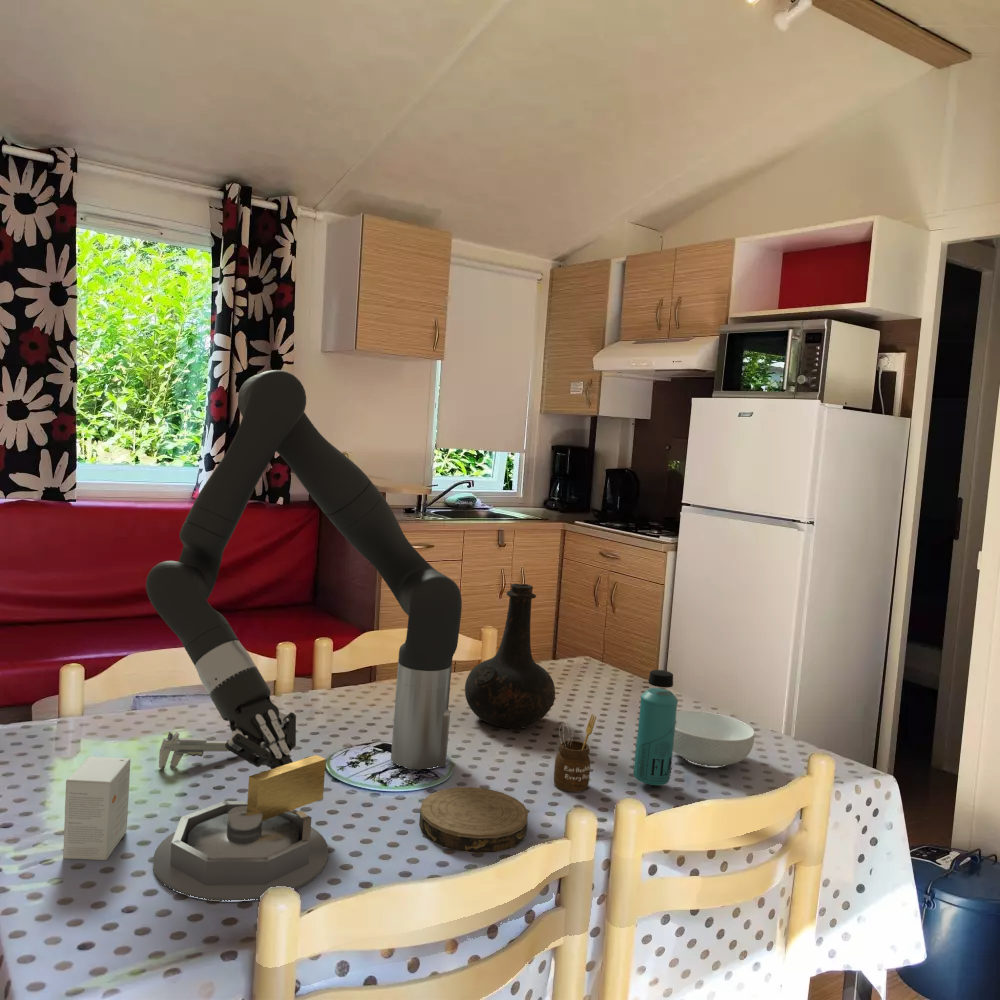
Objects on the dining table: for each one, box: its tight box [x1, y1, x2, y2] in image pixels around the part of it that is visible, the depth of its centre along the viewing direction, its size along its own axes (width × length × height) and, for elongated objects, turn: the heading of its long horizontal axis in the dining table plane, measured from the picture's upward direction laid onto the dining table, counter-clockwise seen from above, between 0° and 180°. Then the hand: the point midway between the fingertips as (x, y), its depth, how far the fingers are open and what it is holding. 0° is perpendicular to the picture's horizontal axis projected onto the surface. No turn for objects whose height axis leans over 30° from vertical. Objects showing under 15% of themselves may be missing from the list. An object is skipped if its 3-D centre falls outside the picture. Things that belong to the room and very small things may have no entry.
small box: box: [62, 756, 131, 861], centre depth 117 cm, size 8×6×10 cm
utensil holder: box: [553, 713, 597, 793], centre depth 149 cm, size 6×6×12 cm
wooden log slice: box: [418, 786, 529, 854], centre depth 131 cm, size 16×16×3 cm
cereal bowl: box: [672, 710, 756, 766], centre depth 167 cm, size 17×17×7 cm
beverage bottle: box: [633, 669, 679, 786], centre depth 151 cm, size 6×7×20 cm
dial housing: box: [152, 800, 329, 901], centre depth 117 cm, size 22×22×4 cm
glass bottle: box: [464, 583, 556, 730], centre depth 178 cm, size 18×18×28 cm
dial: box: [187, 754, 326, 858], centre depth 119 cm, size 20×14×9 cm
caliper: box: [158, 731, 279, 771], centre depth 148 cm, size 20×1×6 cm, turn 132°
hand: (292, 784), depth 125 cm, fingers closed
